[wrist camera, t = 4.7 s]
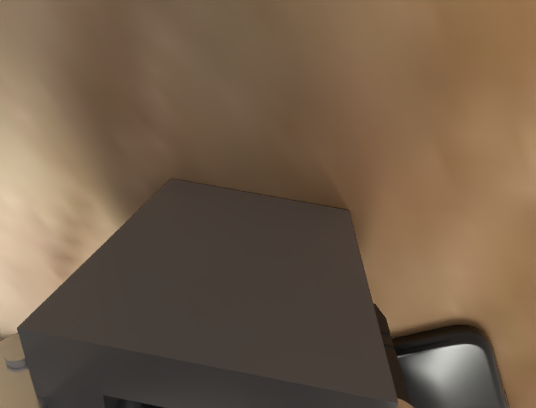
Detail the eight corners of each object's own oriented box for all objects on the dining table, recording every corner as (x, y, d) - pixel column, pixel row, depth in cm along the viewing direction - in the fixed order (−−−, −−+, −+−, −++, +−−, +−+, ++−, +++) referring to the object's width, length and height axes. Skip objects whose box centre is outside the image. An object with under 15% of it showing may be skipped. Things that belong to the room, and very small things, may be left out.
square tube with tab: (349, 210, 10) (404, 425, 4) (312, 338, 12) (315, 580, 7) (170, 178, 10) (0, 344, 4) (169, 310, 13) (59, 523, 7)
